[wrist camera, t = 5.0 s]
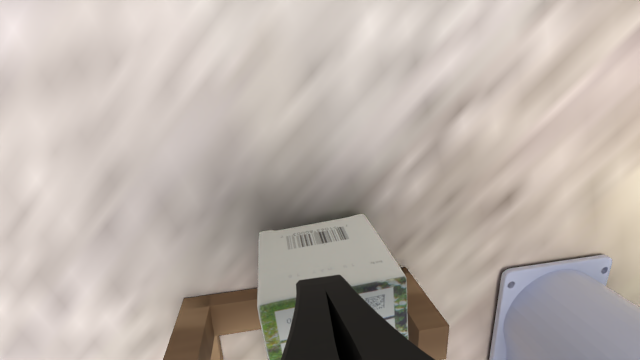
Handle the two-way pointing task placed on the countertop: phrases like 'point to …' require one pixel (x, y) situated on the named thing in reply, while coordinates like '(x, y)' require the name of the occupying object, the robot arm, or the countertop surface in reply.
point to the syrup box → (326, 273)
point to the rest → (242, 315)
